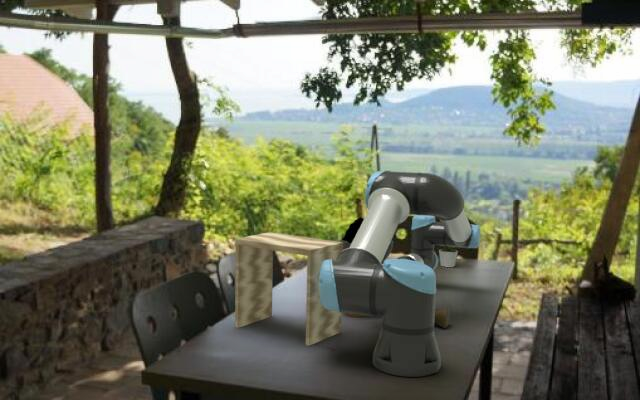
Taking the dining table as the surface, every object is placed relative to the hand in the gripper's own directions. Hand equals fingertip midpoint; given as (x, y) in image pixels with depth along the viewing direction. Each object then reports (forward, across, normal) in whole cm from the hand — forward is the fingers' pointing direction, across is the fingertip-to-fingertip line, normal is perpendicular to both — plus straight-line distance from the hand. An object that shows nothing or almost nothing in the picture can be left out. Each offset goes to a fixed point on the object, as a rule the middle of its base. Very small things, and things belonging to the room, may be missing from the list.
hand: (373, 279), depth 203 cm
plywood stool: (+33, +6, -8) cm, 35 cm away
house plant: (-68, +6, -9) cm, 69 cm away
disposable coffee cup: (+9, 0, -8) cm, 13 cm away
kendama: (+9, -23, -9) cm, 26 cm away
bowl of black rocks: (-48, +32, -9) cm, 58 cm away
